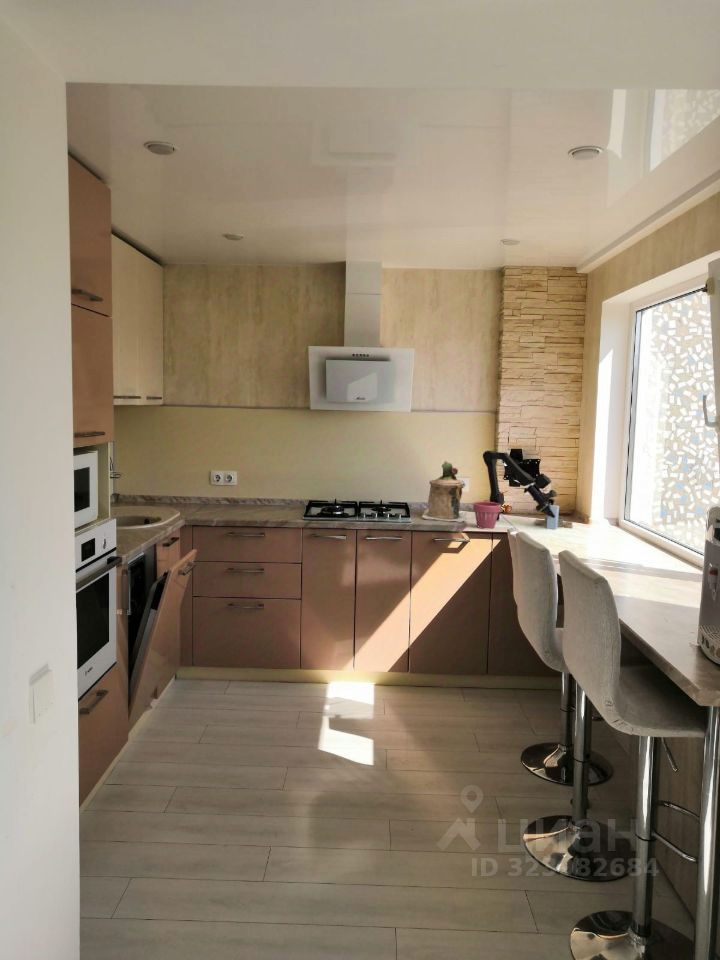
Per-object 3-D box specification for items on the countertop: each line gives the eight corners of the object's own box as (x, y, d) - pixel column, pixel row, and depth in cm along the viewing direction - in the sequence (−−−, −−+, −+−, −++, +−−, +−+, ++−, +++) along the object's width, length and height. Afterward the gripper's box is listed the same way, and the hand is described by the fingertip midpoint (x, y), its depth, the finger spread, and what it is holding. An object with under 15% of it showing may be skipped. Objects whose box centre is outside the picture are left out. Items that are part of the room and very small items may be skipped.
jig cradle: (534, 525, 411) (535, 517, 411) (535, 521, 424) (535, 514, 423) (572, 528, 407) (573, 520, 406) (571, 524, 419) (572, 517, 419)
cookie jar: (420, 519, 412) (424, 462, 408) (424, 512, 436) (428, 458, 433) (465, 523, 408) (469, 465, 404) (467, 516, 432) (470, 461, 428)
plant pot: (481, 530, 389) (482, 506, 387) (467, 525, 401) (468, 501, 400) (504, 529, 394) (505, 505, 393) (489, 524, 407) (491, 501, 406)
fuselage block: (546, 528, 402) (548, 505, 401) (549, 527, 406) (550, 504, 405) (555, 529, 400) (557, 506, 399) (557, 528, 404) (559, 505, 403)
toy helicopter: (513, 513, 449) (515, 490, 448) (487, 515, 438) (489, 492, 437) (504, 511, 456) (505, 489, 455) (478, 512, 445) (479, 490, 443)
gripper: (543, 486, 394) (562, 509, 390) (552, 483, 411) (571, 505, 407) (527, 499, 399) (546, 522, 395) (537, 496, 415) (555, 518, 411)
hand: (555, 516), depth 402 cm, fingers closed on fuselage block, 5 cm apart
